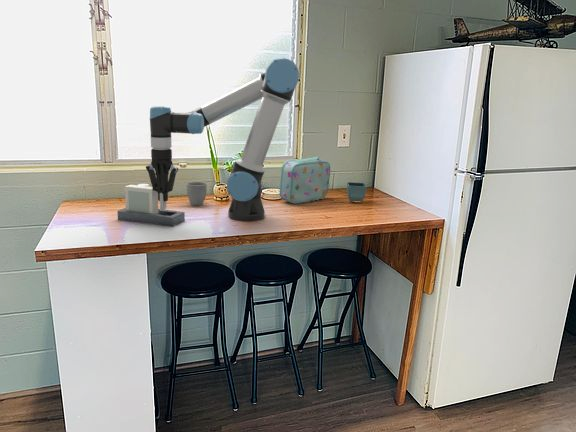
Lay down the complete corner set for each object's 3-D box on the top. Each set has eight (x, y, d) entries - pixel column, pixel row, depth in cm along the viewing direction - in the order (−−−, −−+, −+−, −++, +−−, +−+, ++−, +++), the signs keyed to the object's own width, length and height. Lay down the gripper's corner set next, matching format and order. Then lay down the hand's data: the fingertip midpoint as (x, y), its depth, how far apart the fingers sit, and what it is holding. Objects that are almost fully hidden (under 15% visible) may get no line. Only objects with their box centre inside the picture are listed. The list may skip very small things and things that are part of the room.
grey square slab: (158, 216, 187) (157, 187, 184) (152, 219, 183) (151, 189, 180) (132, 213, 190) (130, 184, 187) (125, 216, 186) (124, 186, 183)
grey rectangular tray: (184, 220, 187) (184, 212, 186) (172, 226, 178) (172, 217, 177) (132, 213, 193) (131, 205, 192) (117, 219, 184) (117, 210, 183)
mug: (209, 205, 212) (209, 184, 209) (190, 207, 207) (190, 186, 205) (200, 200, 222) (200, 179, 219) (182, 201, 218) (182, 180, 215)
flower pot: (365, 204, 227) (367, 186, 225) (347, 203, 227) (348, 185, 225) (362, 200, 235) (364, 182, 233) (345, 199, 235) (346, 182, 233)
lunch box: (315, 195, 242) (318, 154, 236) (330, 199, 234) (333, 156, 229) (276, 202, 224) (278, 157, 219) (291, 206, 217) (293, 160, 211)
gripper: (181, 148, 179) (182, 208, 185) (151, 146, 182) (154, 205, 188) (171, 150, 172) (173, 213, 178) (140, 148, 175) (143, 209, 181)
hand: (163, 209), depth 183 cm, fingers closed
